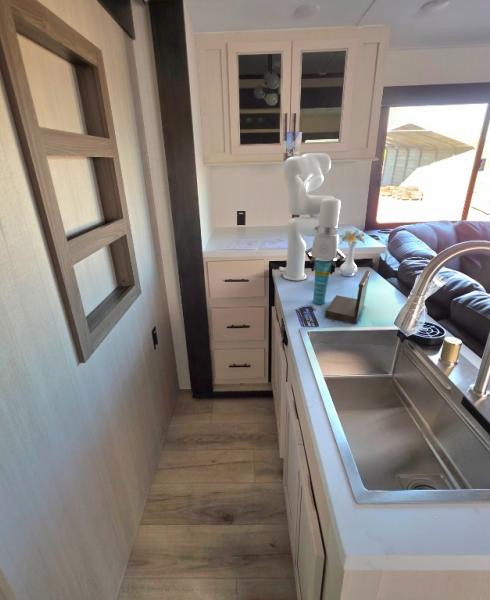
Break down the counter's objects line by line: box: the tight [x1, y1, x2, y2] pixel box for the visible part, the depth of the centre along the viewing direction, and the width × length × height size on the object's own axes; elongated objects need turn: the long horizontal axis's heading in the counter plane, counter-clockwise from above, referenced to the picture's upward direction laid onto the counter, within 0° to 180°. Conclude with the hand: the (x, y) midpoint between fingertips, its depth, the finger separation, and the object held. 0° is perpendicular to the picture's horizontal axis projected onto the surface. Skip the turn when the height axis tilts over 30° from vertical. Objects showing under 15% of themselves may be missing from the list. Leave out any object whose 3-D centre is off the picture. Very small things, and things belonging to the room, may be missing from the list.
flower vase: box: [339, 228, 366, 277], centre depth 169 cm, size 13×18×25 cm
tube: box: [312, 259, 332, 305], centre depth 136 cm, size 7×5×19 cm, turn 72°
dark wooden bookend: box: [324, 270, 371, 325], centre depth 127 cm, size 12×18×16 cm
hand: (322, 271), depth 134 cm, fingers closed on tube, 7 cm apart
